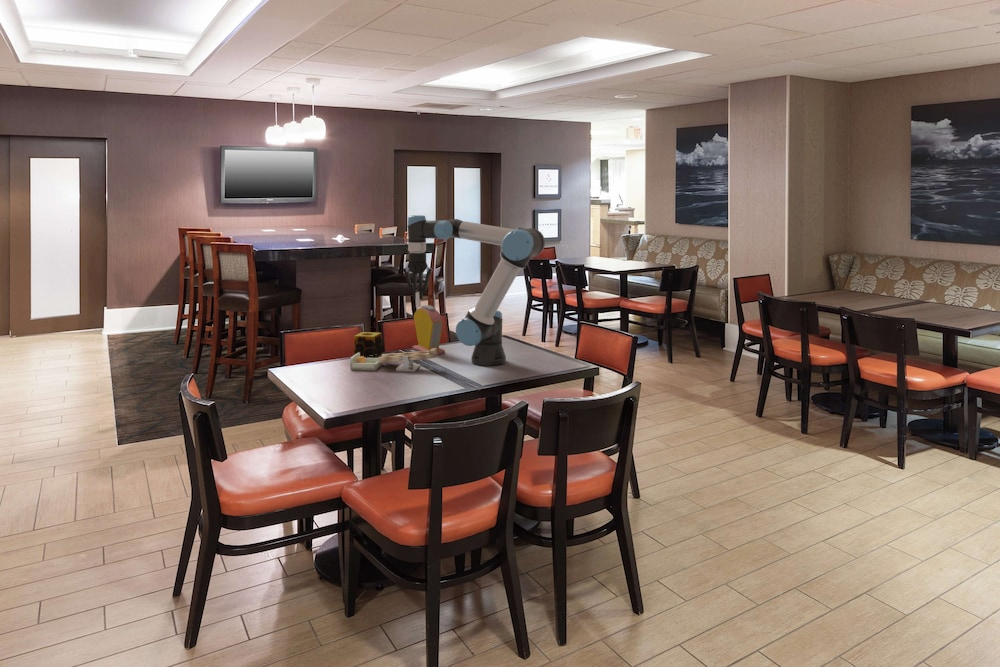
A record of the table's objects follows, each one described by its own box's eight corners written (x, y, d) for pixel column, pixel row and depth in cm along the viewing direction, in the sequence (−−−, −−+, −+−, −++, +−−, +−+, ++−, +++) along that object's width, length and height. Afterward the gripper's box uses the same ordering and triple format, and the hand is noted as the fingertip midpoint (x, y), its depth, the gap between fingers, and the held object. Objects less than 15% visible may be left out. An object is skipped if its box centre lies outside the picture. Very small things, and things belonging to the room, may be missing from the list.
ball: (357, 356, 319) (359, 364, 319) (355, 358, 315) (357, 366, 316) (365, 354, 318) (367, 362, 319) (363, 356, 315) (365, 364, 315)
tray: (382, 364, 322) (382, 353, 321) (375, 370, 311) (375, 358, 310) (358, 363, 323) (358, 352, 322) (350, 369, 313) (349, 358, 312)
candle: (375, 358, 334) (374, 336, 332) (353, 357, 336) (353, 335, 334) (383, 353, 343) (382, 332, 342) (362, 352, 345) (361, 331, 344)
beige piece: (441, 354, 322) (439, 344, 321) (434, 360, 310) (433, 351, 309) (385, 358, 326) (383, 349, 325) (376, 365, 313) (375, 355, 313)
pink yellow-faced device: (447, 354, 341) (447, 308, 337) (429, 357, 336) (428, 309, 332) (427, 346, 360) (426, 302, 356) (409, 348, 355) (408, 303, 351)
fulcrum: (420, 366, 319) (419, 351, 318) (414, 371, 310) (414, 356, 308) (402, 365, 320) (401, 351, 319) (395, 370, 311) (395, 356, 310)
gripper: (434, 251, 320) (435, 306, 325) (404, 251, 322) (405, 305, 326) (430, 253, 313) (431, 308, 317) (400, 252, 315) (401, 308, 319)
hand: (418, 306), depth 322 cm, fingers closed
